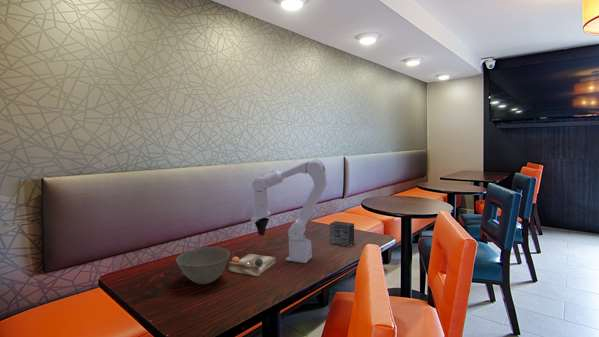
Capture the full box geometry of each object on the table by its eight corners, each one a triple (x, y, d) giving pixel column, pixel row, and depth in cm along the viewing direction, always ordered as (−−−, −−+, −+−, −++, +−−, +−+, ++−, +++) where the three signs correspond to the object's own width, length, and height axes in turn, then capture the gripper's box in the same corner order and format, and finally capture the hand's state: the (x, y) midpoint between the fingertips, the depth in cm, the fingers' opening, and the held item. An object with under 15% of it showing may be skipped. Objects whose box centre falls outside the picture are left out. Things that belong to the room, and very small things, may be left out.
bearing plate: (275, 262, 134) (275, 254, 134) (257, 276, 120) (257, 267, 120) (249, 258, 139) (249, 250, 139) (229, 271, 125) (228, 262, 125)
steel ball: (246, 271, 124) (251, 271, 127) (249, 263, 124) (254, 264, 127) (240, 267, 126) (246, 267, 128) (244, 259, 126) (249, 260, 129)
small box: (354, 243, 156) (354, 222, 155) (349, 247, 151) (349, 226, 150) (335, 240, 162) (335, 220, 161) (329, 244, 156) (329, 223, 156)
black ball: (264, 265, 126) (264, 257, 125) (260, 267, 123) (260, 260, 123) (257, 264, 127) (257, 256, 127) (253, 266, 124) (253, 259, 124)
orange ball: (240, 263, 128) (240, 256, 128) (236, 266, 125) (236, 258, 125) (234, 262, 129) (234, 255, 129) (230, 264, 126) (230, 257, 126)
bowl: (176, 276, 121) (175, 251, 120) (225, 267, 129) (225, 244, 128) (178, 298, 104) (177, 269, 103) (235, 287, 111) (234, 259, 111)
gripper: (260, 201, 146) (261, 229, 148) (244, 207, 133) (245, 238, 134) (274, 202, 144) (275, 231, 145) (258, 208, 130) (259, 240, 132)
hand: (261, 235), depth 139 cm, fingers closed
